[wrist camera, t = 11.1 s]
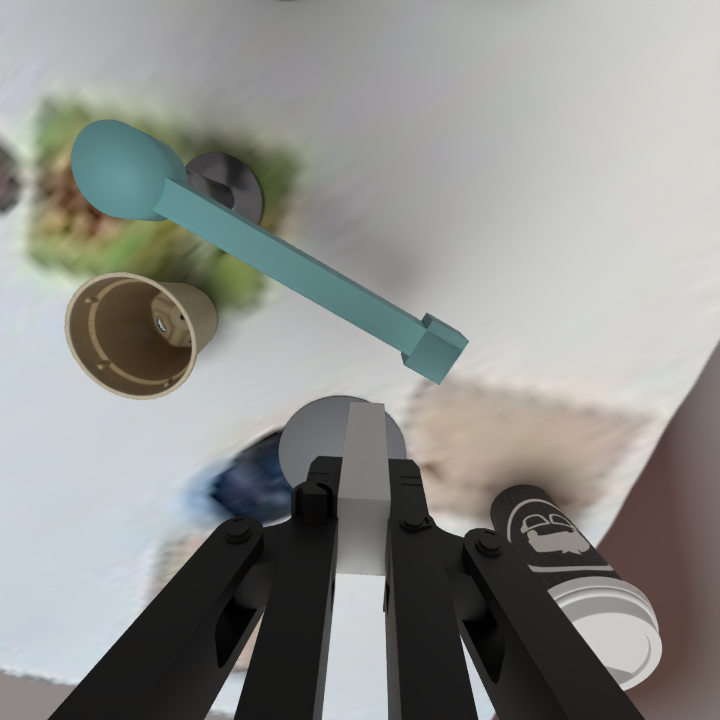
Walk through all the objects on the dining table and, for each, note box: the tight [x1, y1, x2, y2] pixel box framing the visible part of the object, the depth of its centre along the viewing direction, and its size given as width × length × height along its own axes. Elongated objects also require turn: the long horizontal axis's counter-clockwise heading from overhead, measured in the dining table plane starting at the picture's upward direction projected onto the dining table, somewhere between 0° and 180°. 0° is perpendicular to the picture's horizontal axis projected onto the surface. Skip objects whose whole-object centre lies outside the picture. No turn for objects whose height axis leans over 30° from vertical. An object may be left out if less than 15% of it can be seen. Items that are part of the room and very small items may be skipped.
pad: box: [279, 396, 406, 489], centre depth 39 cm, size 13×13×1 cm
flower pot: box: [64, 272, 218, 400], centre depth 31 cm, size 9×9×9 cm
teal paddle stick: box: [71, 120, 469, 385], centre depth 21 cm, size 22×4×3 cm, turn 60°
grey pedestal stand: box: [185, 153, 264, 226], centre depth 27 cm, size 7×7×11 cm
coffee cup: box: [491, 485, 662, 691], centre depth 34 cm, size 10×10×15 cm
